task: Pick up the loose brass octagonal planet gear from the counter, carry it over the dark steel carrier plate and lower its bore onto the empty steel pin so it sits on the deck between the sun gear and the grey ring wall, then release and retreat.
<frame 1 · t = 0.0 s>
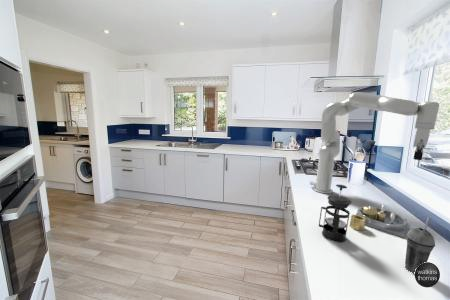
hand: (417, 158, 115), 31 cm above the worktop, fingers open, 9 cm apart
carrier: (379, 221, 109), on the worktop
french press: (332, 236, 94), on the worktop
beverage cup: (413, 270, 75), on the worktop
planet gear: (356, 227, 103), on the worktop
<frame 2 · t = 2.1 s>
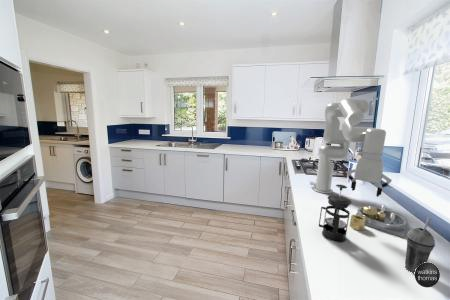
hand: (365, 192, 100), 17 cm above the worktop, fingers open, 9 cm apart
nothing on the worktop moved.
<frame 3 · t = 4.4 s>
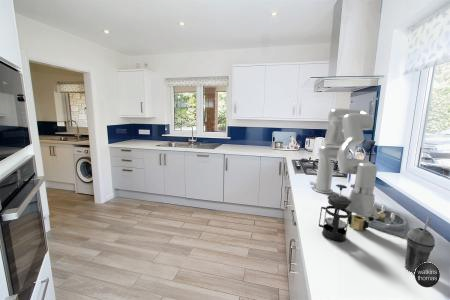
hand: (357, 225, 102), 1 cm above the worktop, fingers closed on planet gear, 5 cm apart
planet gear: (356, 227, 103), on the worktop, touching gripper
everything else where it was.
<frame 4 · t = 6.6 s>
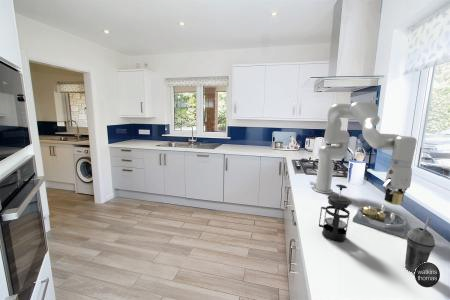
hand: (393, 200, 102), 14 cm above the worktop, fingers closed on planet gear, 5 cm apart
planet gear: (393, 202, 102), point 13 cm above the worktop, touching gripper
everything else where it was.
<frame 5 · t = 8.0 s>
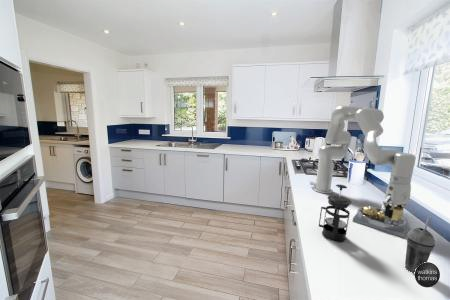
hand: (393, 215, 103), 6 cm above the worktop, fingers closed on planet gear, 5 cm apart
planet gear: (392, 217, 103), point 5 cm above the worktop, touching gripper
everything else where it was.
when the fingers open (3 cm above the worktop, at t = 9.0 s): planet gear stays where it is, resting on carrier.
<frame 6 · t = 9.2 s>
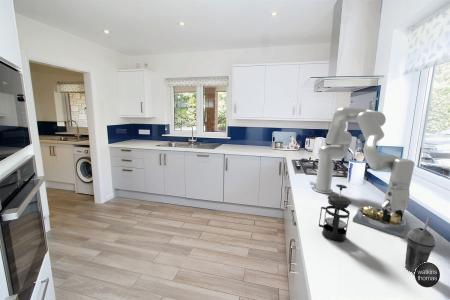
hand: (391, 220, 104), 4 cm above the worktop, fingers open, 7 cm apart
planet gear: (390, 224, 104), point 1 cm above the worktop, touching carrier
everything else where it was.
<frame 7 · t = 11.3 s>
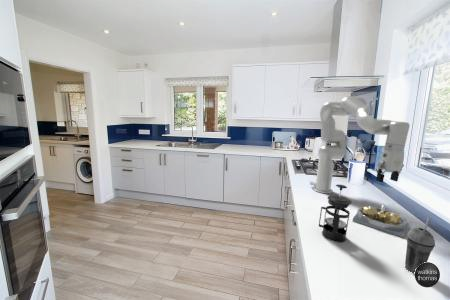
hand: (386, 180, 108), 21 cm above the worktop, fingers open, 9 cm apart
nothing on the worktop moved.
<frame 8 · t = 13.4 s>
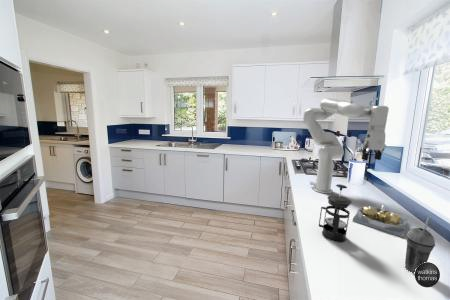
hand: (371, 159, 121), 28 cm above the worktop, fingers open, 9 cm apart
nothing on the worktop moved.
at the end: planet gear 0.1 cm from the target spot on the carrier, point 1.5 cm above the carrier's base; the gripper is holding nothing; planet gear tilted 0° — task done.
